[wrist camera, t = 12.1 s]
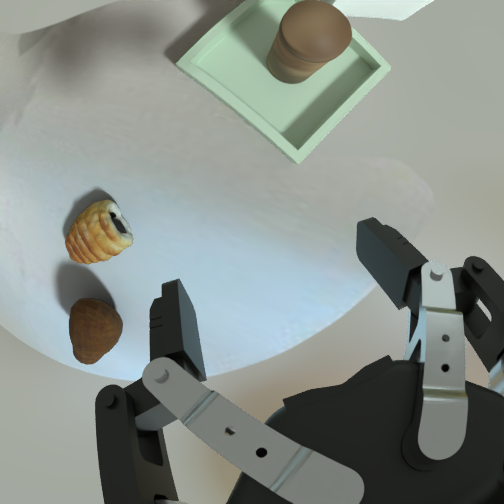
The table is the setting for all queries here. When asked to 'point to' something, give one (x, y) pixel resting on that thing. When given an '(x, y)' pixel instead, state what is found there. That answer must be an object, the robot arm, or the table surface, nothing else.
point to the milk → (379, 8)
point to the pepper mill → (307, 40)
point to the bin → (272, 90)
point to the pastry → (98, 233)
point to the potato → (93, 329)
